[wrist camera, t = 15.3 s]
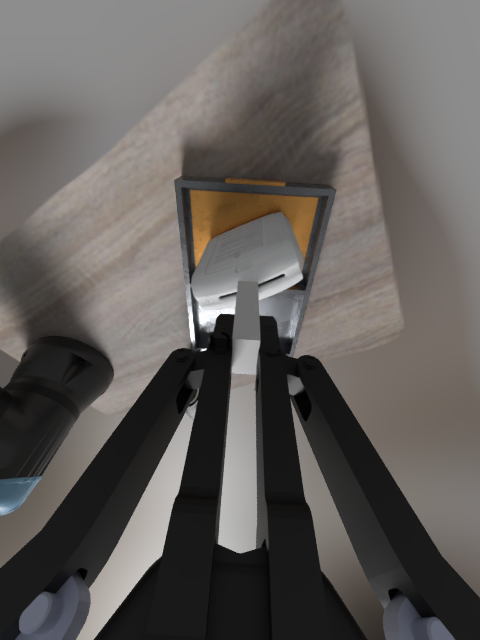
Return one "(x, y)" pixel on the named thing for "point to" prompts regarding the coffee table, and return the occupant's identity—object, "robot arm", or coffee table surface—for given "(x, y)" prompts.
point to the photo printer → (248, 262)
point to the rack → (240, 208)
